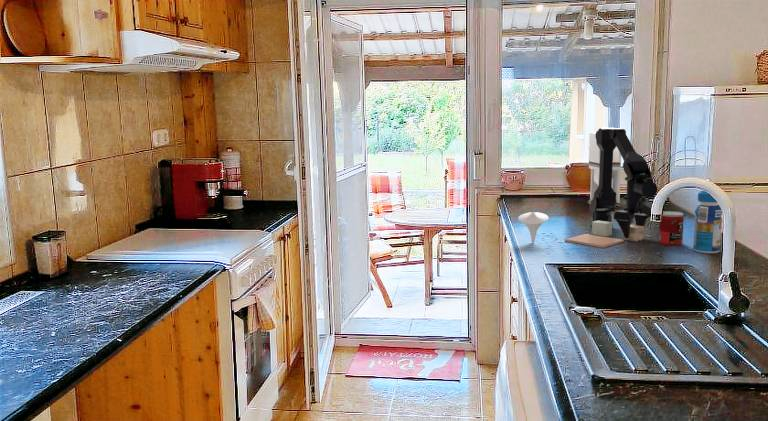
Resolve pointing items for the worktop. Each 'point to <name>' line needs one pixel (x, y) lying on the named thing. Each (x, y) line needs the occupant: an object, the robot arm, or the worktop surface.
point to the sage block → (602, 228)
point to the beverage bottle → (707, 224)
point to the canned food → (671, 228)
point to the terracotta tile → (594, 240)
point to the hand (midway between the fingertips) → (633, 236)
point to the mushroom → (533, 222)
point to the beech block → (635, 233)
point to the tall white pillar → (595, 166)
